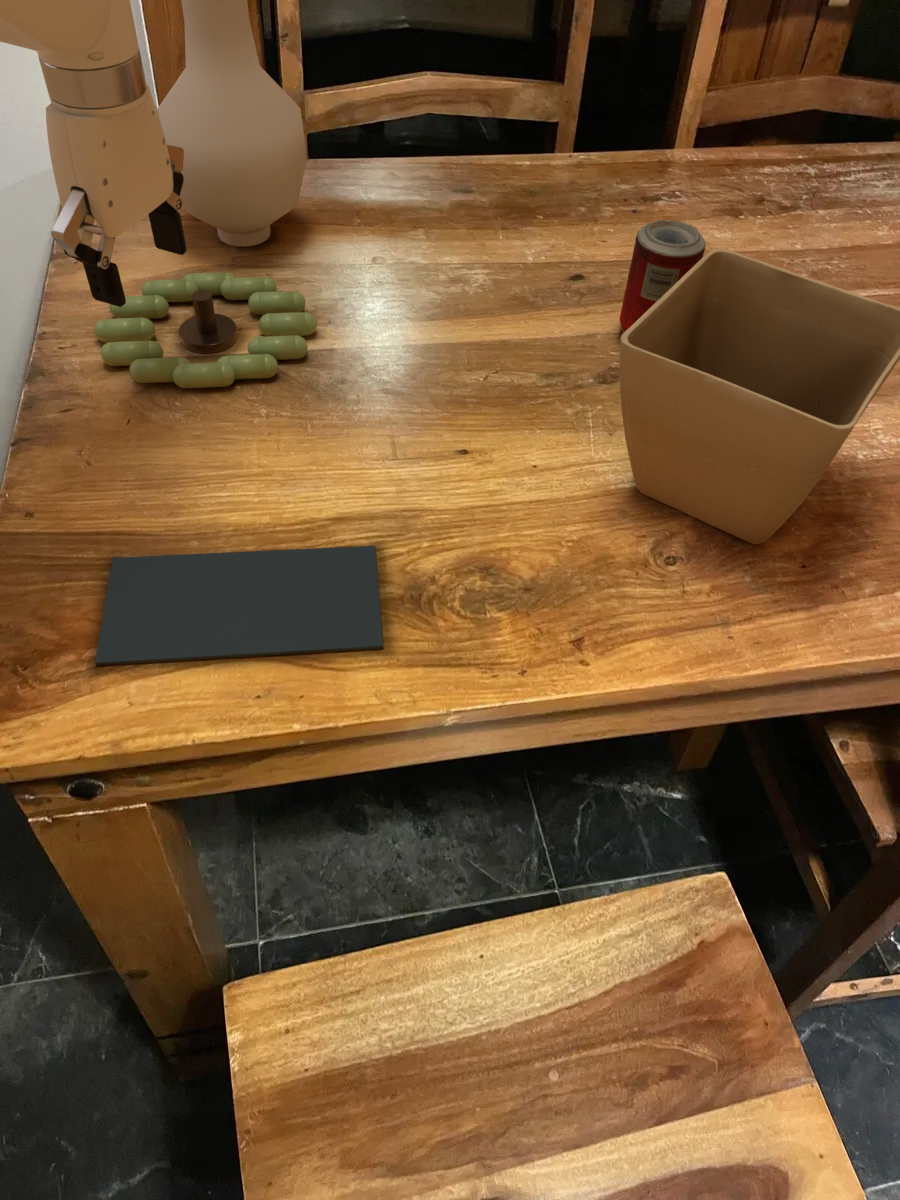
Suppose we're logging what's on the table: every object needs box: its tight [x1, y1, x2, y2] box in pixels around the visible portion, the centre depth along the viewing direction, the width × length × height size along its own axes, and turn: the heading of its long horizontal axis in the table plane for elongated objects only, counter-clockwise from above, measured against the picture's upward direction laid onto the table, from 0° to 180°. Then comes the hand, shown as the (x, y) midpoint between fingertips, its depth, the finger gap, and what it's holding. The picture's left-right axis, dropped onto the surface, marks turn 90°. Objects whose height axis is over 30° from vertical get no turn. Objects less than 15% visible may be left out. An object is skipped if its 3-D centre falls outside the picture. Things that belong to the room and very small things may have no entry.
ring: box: [93, 271, 318, 389], centre depth 99 cm, size 23×19×2 cm
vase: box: [157, 0, 307, 248], centre depth 104 cm, size 17×16×28 cm
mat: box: [94, 545, 384, 667], centre depth 76 cm, size 22×11×1 cm, turn 96°
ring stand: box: [178, 290, 238, 354], centre depth 98 cm, size 6×6×5 cm
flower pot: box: [619, 247, 900, 545], centre depth 82 cm, size 19×19×17 cm
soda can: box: [619, 219, 707, 334], centre depth 99 cm, size 7×7×12 cm
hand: (141, 275), depth 86 cm, fingers open, 9 cm apart
